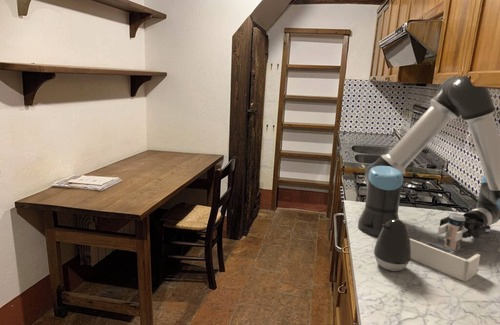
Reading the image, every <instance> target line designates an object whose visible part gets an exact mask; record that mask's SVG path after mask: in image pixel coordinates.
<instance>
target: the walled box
mask: <svg viewBox="0 0 500 325" xmlns="http://www.w3.org/2000/svg"><path fill="white" fill-rule="evenodd" d="M409 238H410V237H409ZM410 244H411V258H410V260H412V261H413V260H414V261H416V262H418V263H419V264H423V265H425V266H427V267H430V268H432V269H434V270H437V271H439V272H440V273H441V272H442V273H444V274H447V275H449V276H451V277H454V278H455V279H458V280H460V281H462V282H467V281H469V279H471V278H473V277H474V276H476V275H477V274H478V269H479V265H480V259H481V254H479V253H476V254H474V255H472V256H470V257H469V258H467V259H465V258H462V257H460V256H457V255H455V251H452V250H450V249H447V248H446V247H445V246H441V245H438V244H436V243H434V242H431V241H427V242H425V243H423V242H421V241H418V240H415V239H413V238H410Z"/></svg>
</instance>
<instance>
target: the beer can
mask: <svg viewBox="0 0 500 325" xmlns="http://www.w3.org/2000/svg"><path fill="white" fill-rule="evenodd" d="M463 215H464V214H460V213H456V212H455V213H451V214H449V215H448V216H449V221H448V227H447V232H445V237H444V244H443V247H444V248H447V249H450V250H452V251H454V252H457V251H460V250H461V246H462V241H463V240H462V239H463V238H462V239H460V240H459V241H455V236H456V233H457V232H459V231H461V230H463V229H464V225H465V220H466V219H465V217H464V216H463Z"/></svg>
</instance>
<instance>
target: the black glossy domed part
mask: <svg viewBox="0 0 500 325" xmlns="http://www.w3.org/2000/svg"><path fill="white" fill-rule="evenodd" d="M382 227H383V228H382V230H381V232H380V234H379V236H377V239H376V240H375V241H376V242H375V244H374V245H375V246H374V249H373V254H374V258H375V261H376V262H377V264H378V265H379V266H380V267H381V268H383V269H384V270H387V271H392V272H398V271H402V270H404V269H405V268H406V267H408V264H409V263H410V261H411V244H410V234H409V230H408V228H407V225H406V224H405V222H404V221H403V220H401V219H400V218H399V219H391V220H389V221H388V222H387V223H386V224H382Z"/></svg>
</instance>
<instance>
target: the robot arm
mask: <svg viewBox="0 0 500 325" xmlns="http://www.w3.org/2000/svg"><path fill="white" fill-rule="evenodd" d="M460 76H461V77H455V76H452V77H450V78H447V79H445V80H444V81H443V82H442V83H441V84H440V86H439V87H438V90H437V92H436V93H435V94H434V95H433V97H432V98H431V99H430V106H429V108H428V109H427V110H426V111H424V113H423V114H422V115H421V116H420V118H419V119H417V121H416V122H415V123H414V124H413V125H412V126H411V127H410V128H409V130H408V131H407V132H405V134H404V135H403V136H402V138H401V139H400V140H399V141H397V143H396V144H395V145H394V146H393V148H392V149H391V150H389V152H388V153H386V154H381V155H380V156H379V157H378V158H377V160H375V162H372V163H371V164H369V165H368V167H367V168H366V169H365V171H364V183H365V185H366V187H367V188H366V198H365V206H364V209H363V210H362V213H361V215H360V217H359V219H358V221H357V228H358V229H359V230H360V231H361V232H363V233H365V234H367V235H370V236H373V237H378V236H379V234H380V232H381V230H382V228H383V227H382V224H386V223H387V222H388V221H389V220H391V219H399V220H400V218H399V217H400V216H399V207H400V200H401V195H402V194H401V193H402V189H403V188H402V187H403V183H404V176H406V168H407V167H408V166H409V165H410V164H411V163H412V161H413V160H415V158H416V157H417V156H418V155H419V154H420V153H421V152H422V151H423V150H424V149H425V148H426V147H427V146H428V144H429V143H430V142H431V141H432V140H433V139H434V138H435V137H436V136H437V135H438V134H439V133H440V132H441V130H442V129H443V128H444V127H445V126H446V125H447V124H448V123H449V122H450V121H451V120H457V119H459V118H460V116H461V119H462V121H463V122H465V123H467V126H468V129H469V131H470V136H471V138H472V140H473V144H474V148H475V149H476V153H477V156H478V159H479V163H480V165H481V167H482V171H483V174H484V175H483V176H482V179H481V182H480V188H479V192H478V198H477V202H476V207H475V208H473V209H471V210H469V211H467V212H465V213H464V214H462V215H463V216H464V217H465V219H466V220H465V225H464V229H463V230H461V231H459V232H457V233H456V236H455V241H459V240H460V239H467V238H471V237H472V238H473V239H475V240H476V239H479V238H482V236H484V235H486V234H490V232H491V225H494V224H496V223H498V221H500V134H499V130H498V126H497V124H496V120H495V118H494V115H495V113H496V107H495V105H494V102H493V99H492V95H491V93H490V89H489V88H485V87H475V86H473V85H472V83H471V81H470V79H469V78H468V77H467V76H468V75H460ZM453 77H454V78H453ZM449 216H450V215H448V216H446V217H444V218H441V219H440V220H439V226H438V230H437V235H438V236H441V235H443V234H446V232H447V227H448V221H449Z"/></svg>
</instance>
